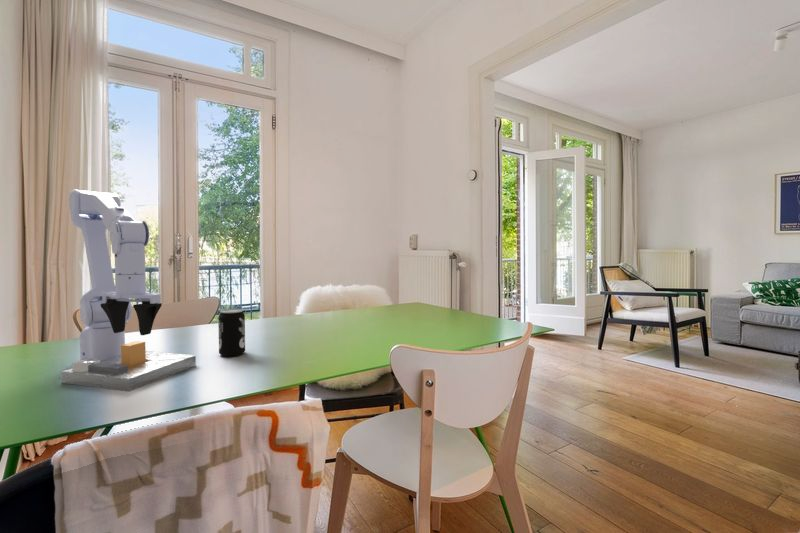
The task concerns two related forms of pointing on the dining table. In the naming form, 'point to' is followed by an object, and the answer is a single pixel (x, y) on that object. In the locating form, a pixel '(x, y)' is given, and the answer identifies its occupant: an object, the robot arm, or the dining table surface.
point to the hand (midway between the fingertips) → (132, 333)
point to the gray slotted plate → (126, 371)
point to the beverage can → (231, 332)
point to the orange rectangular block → (133, 353)
